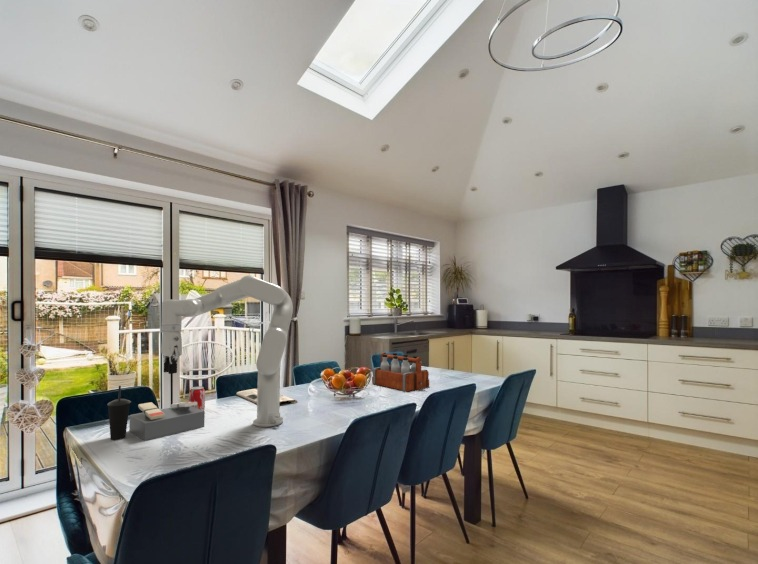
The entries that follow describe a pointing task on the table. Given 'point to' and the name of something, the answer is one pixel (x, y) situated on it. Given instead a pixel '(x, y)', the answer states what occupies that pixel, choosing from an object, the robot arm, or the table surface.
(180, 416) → the switch box
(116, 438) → the drinking cup
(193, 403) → the white rocker
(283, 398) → the newspaper
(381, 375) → the milk bottle holder
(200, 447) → the table surface
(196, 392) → the soda can
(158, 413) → the sand rocker
